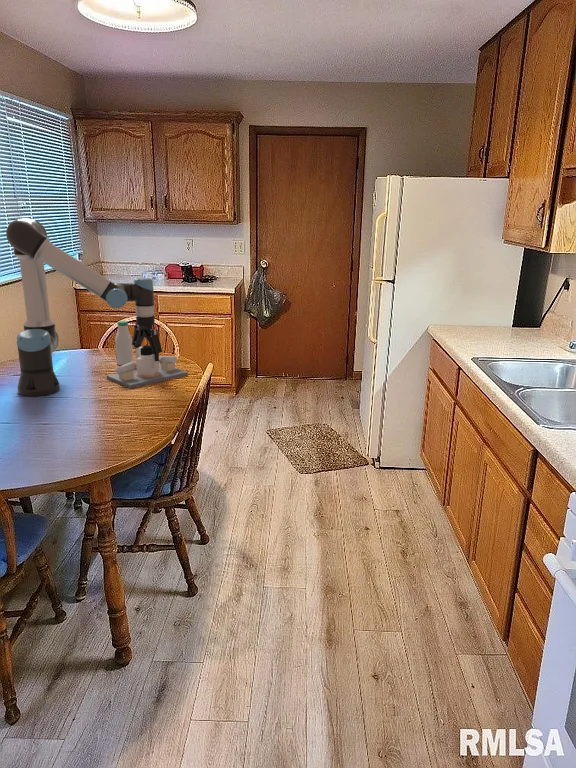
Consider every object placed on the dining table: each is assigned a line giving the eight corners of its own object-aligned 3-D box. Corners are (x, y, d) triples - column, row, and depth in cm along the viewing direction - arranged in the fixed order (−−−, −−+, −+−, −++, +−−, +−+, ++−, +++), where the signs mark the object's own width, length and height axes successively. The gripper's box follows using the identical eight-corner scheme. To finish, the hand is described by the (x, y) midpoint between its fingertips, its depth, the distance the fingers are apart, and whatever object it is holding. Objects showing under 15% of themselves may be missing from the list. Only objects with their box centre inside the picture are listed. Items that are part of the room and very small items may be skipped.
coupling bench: (129, 388, 225) (128, 369, 222) (106, 378, 236) (105, 360, 234) (188, 375, 245) (187, 357, 243) (164, 366, 257) (163, 349, 254)
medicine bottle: (158, 370, 243) (156, 344, 239) (153, 376, 236) (151, 348, 232) (142, 370, 244) (140, 343, 240) (136, 375, 237) (134, 348, 233)
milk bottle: (137, 363, 261) (134, 321, 255) (124, 366, 254) (121, 323, 248) (125, 360, 265) (123, 319, 259) (112, 364, 258) (110, 321, 252)
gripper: (169, 318, 227) (171, 369, 234) (137, 310, 243) (139, 358, 249) (154, 320, 222) (156, 372, 229) (121, 312, 238) (124, 360, 244)
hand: (147, 365), depth 239 cm, fingers open, 12 cm apart
